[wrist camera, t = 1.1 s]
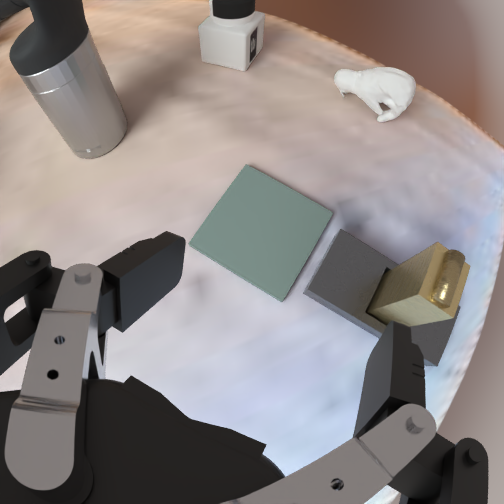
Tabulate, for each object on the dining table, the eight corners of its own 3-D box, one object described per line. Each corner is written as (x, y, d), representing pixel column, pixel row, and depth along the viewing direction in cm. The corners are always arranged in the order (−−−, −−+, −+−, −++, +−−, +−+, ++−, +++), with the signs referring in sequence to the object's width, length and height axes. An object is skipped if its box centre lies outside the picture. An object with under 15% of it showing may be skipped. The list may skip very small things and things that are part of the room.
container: (263, 47, 47) (267, -15, 34) (245, 72, 44) (246, 5, 32) (222, 38, 47) (219, -22, 35) (201, 62, 45) (194, -2, 33)
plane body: (302, 293, 35) (307, 289, 33) (334, 236, 37) (340, 228, 35) (426, 365, 33) (437, 366, 30) (449, 309, 35) (460, 307, 32)
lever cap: (361, 313, 35) (426, 291, 21) (379, 276, 36) (445, 236, 22) (388, 330, 34) (462, 316, 20) (405, 293, 35) (478, 262, 22)
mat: (189, 245, 36) (188, 243, 35) (246, 167, 39) (246, 164, 39) (281, 302, 35) (282, 301, 34) (331, 215, 38) (333, 212, 37)
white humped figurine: (416, 94, 34) (332, 60, 36) (398, 133, 42) (325, 102, 44) (422, 71, 35) (345, 40, 38) (406, 108, 44) (338, 80, 46)
